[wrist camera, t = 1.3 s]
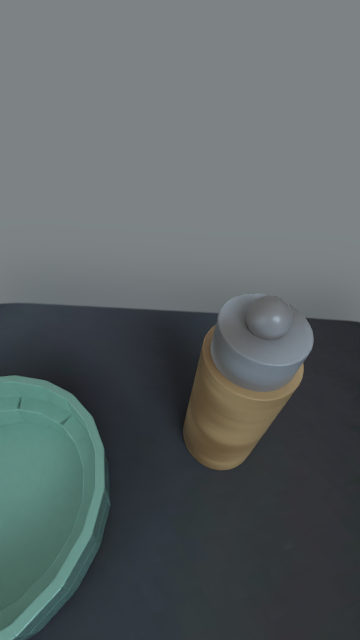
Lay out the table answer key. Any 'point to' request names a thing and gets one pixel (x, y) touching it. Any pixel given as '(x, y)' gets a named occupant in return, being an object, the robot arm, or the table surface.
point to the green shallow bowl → (46, 501)
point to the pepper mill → (244, 377)
